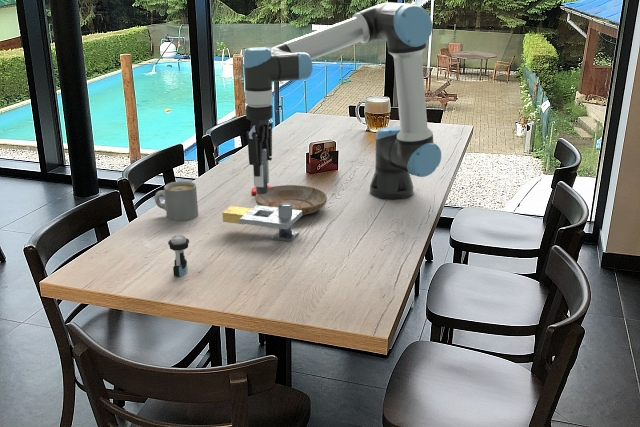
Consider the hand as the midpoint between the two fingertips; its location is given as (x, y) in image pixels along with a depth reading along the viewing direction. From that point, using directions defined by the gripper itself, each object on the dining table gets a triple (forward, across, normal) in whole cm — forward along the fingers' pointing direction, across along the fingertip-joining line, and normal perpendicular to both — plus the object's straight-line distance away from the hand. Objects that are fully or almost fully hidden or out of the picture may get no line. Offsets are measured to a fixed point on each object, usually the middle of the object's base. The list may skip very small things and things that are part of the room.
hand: (261, 184), depth 201 cm
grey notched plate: (+16, 0, -1) cm, 16 cm away
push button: (+16, +31, -10) cm, 36 cm away
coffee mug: (+16, -6, -33) cm, 37 cm away
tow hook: (+16, -36, -16) cm, 43 cm away
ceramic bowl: (+16, -22, 0) cm, 27 cm away
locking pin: (+2, 0, 0) cm, 2 cm away
